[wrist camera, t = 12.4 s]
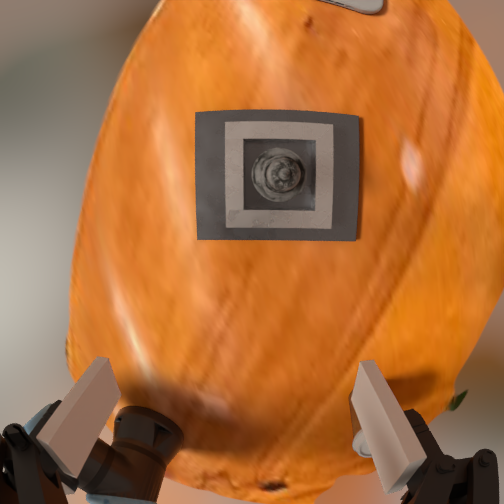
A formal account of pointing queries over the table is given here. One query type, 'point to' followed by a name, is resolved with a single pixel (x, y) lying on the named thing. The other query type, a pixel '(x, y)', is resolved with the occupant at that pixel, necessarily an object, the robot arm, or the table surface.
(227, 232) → the collar plate
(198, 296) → the table surface
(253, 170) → the dark grey chess piece
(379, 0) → the handheld gaming console
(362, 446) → the disposable coffee cup
